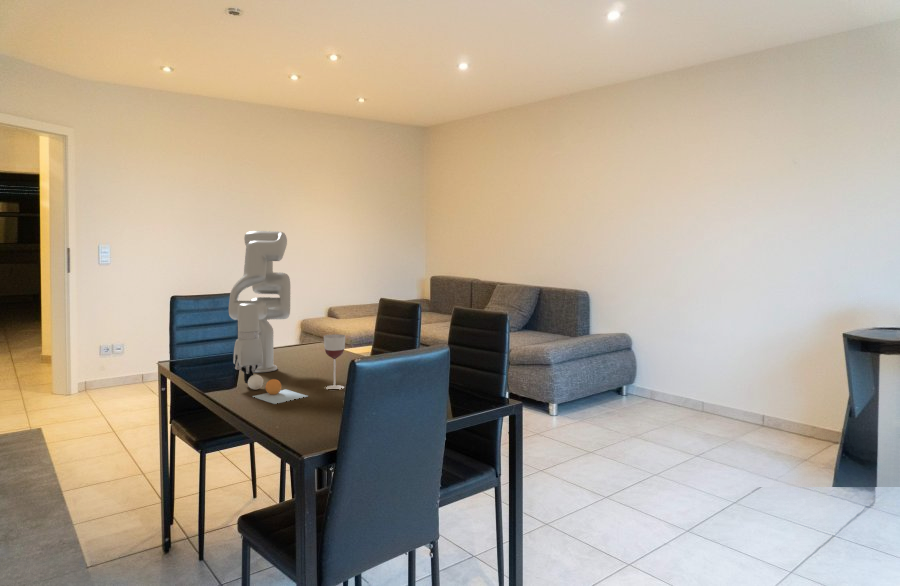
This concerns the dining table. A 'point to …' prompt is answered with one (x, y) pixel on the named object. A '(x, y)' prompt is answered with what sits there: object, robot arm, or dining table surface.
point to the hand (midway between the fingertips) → (248, 382)
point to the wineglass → (334, 352)
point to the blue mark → (280, 396)
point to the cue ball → (255, 382)
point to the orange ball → (273, 386)
